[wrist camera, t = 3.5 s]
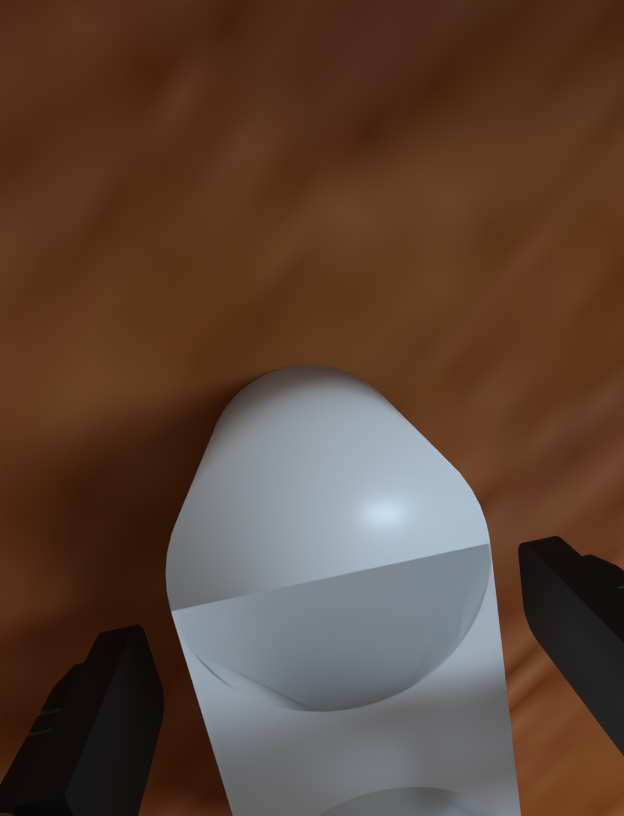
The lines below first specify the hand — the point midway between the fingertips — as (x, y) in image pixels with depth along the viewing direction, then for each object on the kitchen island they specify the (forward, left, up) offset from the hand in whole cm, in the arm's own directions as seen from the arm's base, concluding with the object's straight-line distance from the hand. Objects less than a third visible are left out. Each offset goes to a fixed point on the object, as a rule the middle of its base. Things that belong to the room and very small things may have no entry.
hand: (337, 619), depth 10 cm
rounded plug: (0, +1, -1) cm, 2 cm away
